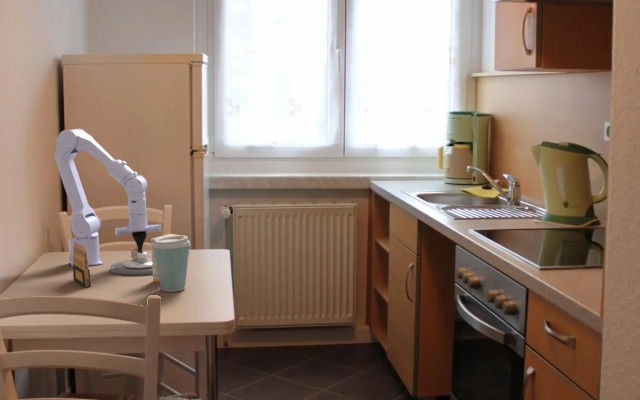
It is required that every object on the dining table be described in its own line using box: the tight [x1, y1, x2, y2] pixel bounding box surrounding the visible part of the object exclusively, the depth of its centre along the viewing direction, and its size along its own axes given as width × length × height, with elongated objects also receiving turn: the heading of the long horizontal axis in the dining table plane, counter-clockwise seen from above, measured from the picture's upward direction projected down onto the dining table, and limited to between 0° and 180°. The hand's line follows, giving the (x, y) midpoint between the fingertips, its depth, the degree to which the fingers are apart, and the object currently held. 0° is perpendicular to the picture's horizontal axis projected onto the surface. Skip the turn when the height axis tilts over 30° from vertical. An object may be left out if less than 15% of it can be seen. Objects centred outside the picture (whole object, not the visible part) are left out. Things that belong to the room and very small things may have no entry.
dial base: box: [109, 259, 153, 277], centre depth 245 cm, size 20×20×1 cm
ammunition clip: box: [72, 241, 92, 289], centre depth 225 cm, size 11×2×12 cm, turn 34°
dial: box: [123, 247, 152, 269], centre depth 245 cm, size 14×12×4 cm
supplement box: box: [150, 233, 180, 283], centre depth 229 cm, size 8×5×13 cm, turn 149°
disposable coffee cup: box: [152, 234, 191, 293], centre depth 217 cm, size 11×11×15 cm
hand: (139, 254), depth 250 cm, fingers closed, pressing on dial
